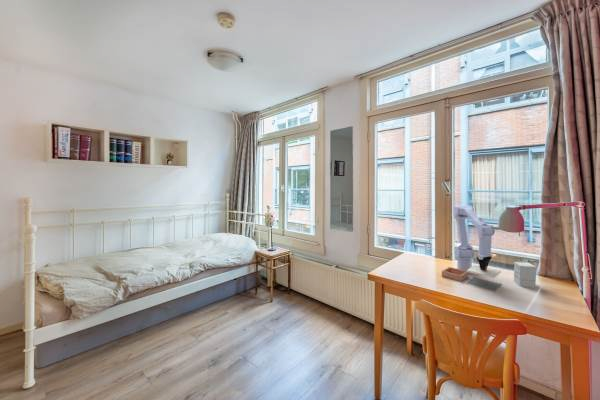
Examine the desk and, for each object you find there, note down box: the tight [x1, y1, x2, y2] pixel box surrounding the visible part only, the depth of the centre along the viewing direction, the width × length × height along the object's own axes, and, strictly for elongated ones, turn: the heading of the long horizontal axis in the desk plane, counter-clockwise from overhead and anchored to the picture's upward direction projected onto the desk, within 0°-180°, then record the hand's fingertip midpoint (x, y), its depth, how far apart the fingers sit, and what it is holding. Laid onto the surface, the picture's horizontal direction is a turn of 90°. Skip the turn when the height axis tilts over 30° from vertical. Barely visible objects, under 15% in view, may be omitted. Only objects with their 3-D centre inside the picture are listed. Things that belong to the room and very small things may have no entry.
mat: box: [466, 276, 503, 292], centre depth 145 cm, size 14×14×1 cm
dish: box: [441, 266, 469, 282], centre depth 156 cm, size 11×11×4 cm
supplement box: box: [513, 261, 537, 289], centre depth 143 cm, size 7×7×13 cm
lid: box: [467, 264, 502, 279], centre depth 144 cm, size 13×13×4 cm
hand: (483, 268), depth 144 cm, fingers closed on lid, 3 cm apart
